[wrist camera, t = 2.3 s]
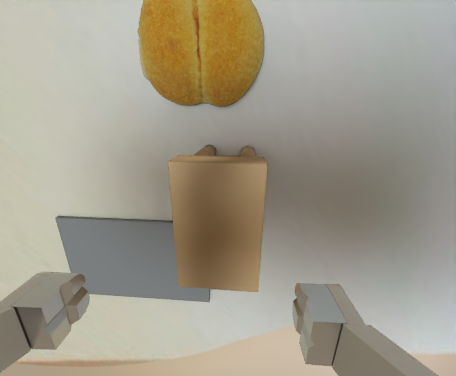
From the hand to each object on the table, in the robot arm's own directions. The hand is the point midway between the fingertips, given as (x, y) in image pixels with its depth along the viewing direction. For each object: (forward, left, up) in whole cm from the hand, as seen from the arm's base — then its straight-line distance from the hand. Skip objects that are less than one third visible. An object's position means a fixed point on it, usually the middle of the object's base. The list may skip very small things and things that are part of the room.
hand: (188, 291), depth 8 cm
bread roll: (+2, -11, -13) cm, 17 cm away
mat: (+9, +9, -13) cm, 18 cm away
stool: (-1, 0, -13) cm, 13 cm away
